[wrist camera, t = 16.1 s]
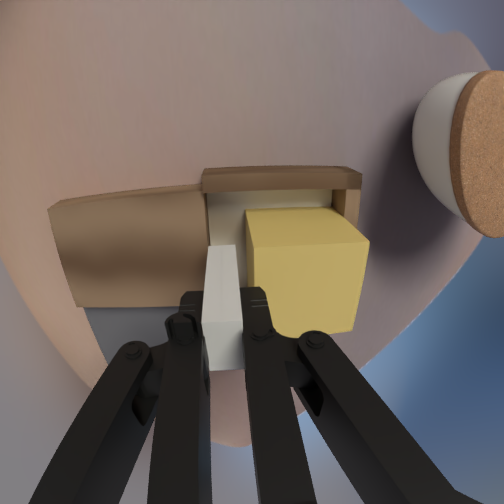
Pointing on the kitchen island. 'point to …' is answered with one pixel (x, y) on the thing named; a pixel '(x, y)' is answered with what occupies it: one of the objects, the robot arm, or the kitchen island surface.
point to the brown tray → (180, 229)
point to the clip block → (306, 267)
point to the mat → (128, 326)
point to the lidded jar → (464, 147)
